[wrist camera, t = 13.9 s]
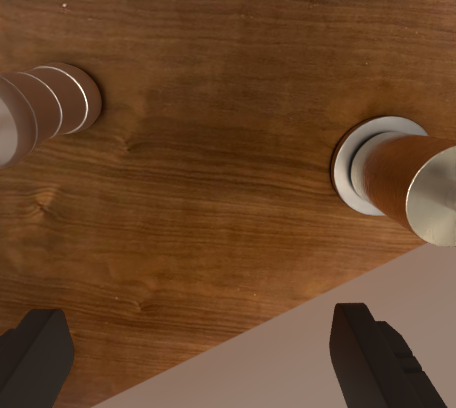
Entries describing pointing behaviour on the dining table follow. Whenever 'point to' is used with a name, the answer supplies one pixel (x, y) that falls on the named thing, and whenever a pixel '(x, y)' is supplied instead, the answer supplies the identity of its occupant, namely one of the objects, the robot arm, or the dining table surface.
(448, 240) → the metal plunger pump
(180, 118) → the dining table surface
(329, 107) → the dining table surface
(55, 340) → the robot arm
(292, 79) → the dining table surface
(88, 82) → the plastic bottle
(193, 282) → the dining table surface
